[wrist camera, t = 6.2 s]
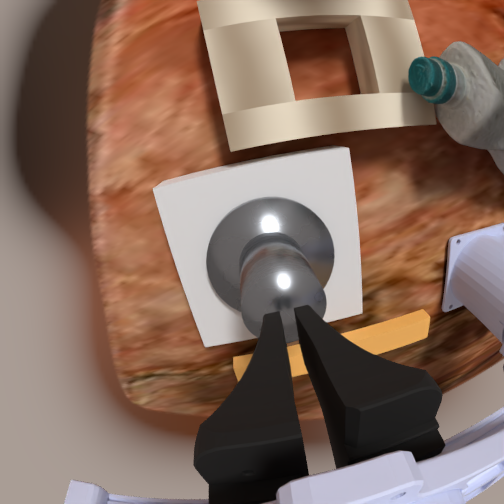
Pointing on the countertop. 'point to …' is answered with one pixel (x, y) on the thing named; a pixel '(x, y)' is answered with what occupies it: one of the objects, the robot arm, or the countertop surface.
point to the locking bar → (361, 340)
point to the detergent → (464, 96)
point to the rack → (278, 78)
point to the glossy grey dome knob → (271, 261)
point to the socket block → (252, 187)
